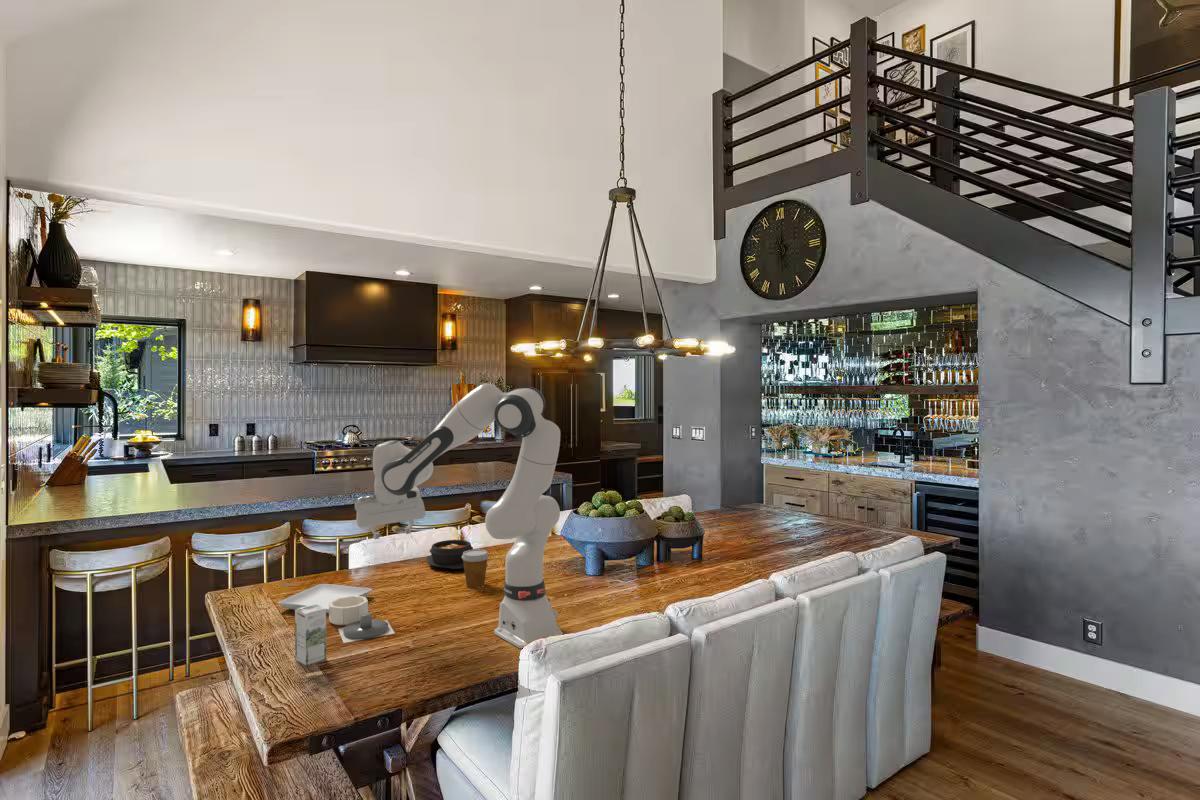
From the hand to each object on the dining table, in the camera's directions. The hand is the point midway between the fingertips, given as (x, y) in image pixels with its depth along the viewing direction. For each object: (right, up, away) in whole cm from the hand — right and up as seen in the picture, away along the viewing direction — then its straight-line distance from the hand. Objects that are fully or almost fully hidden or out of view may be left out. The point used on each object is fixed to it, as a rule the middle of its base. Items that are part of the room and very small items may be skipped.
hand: (392, 535), depth 205 cm
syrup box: (-12, -27, -31) cm, 43 cm away
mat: (-4, -26, -12) cm, 29 cm away
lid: (-4, -25, -12) cm, 28 cm away
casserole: (+5, -24, +59) cm, 64 cm away
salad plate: (-26, -26, +14) cm, 39 cm away
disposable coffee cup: (+20, -25, +32) cm, 45 cm away
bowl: (-13, -26, -2) cm, 29 cm away
